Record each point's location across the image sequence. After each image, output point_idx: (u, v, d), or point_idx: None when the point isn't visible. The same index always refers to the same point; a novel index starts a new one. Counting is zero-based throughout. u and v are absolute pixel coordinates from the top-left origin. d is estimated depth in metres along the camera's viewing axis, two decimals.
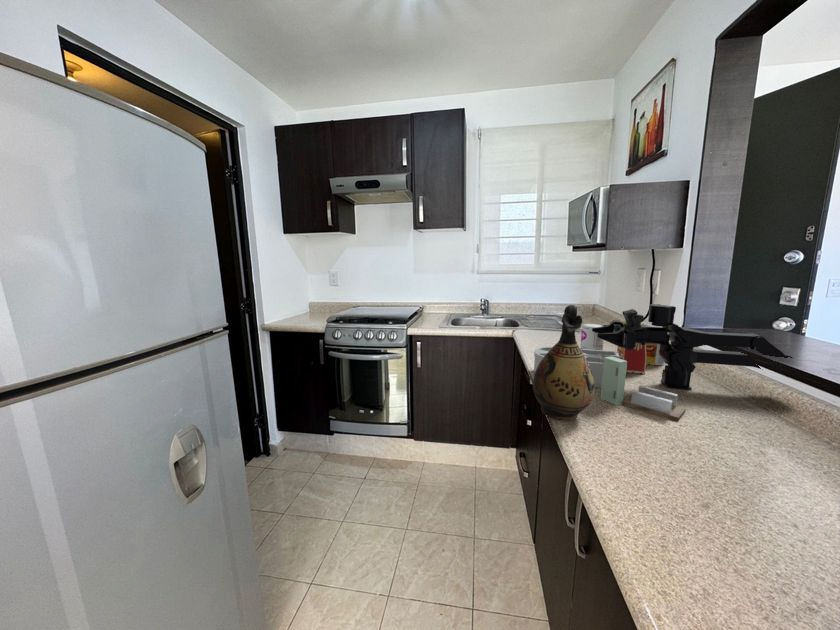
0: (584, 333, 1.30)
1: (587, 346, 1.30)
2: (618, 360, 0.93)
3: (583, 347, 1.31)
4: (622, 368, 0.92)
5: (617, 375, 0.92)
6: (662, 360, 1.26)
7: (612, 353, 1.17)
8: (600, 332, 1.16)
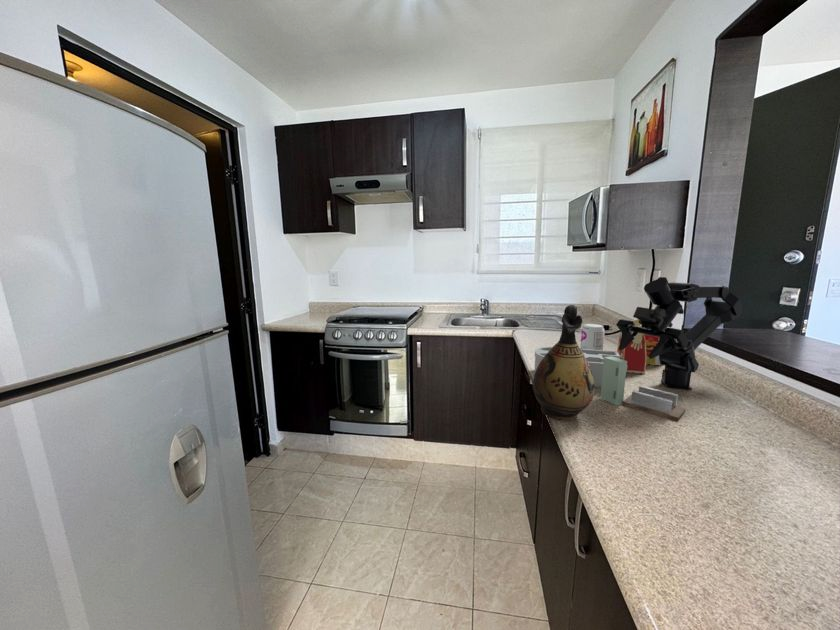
0: (584, 333, 1.30)
1: (587, 346, 1.30)
2: (618, 360, 0.93)
3: (583, 347, 1.31)
4: (622, 368, 0.92)
5: (617, 375, 0.92)
6: None
7: (612, 353, 1.17)
8: (626, 344, 1.02)
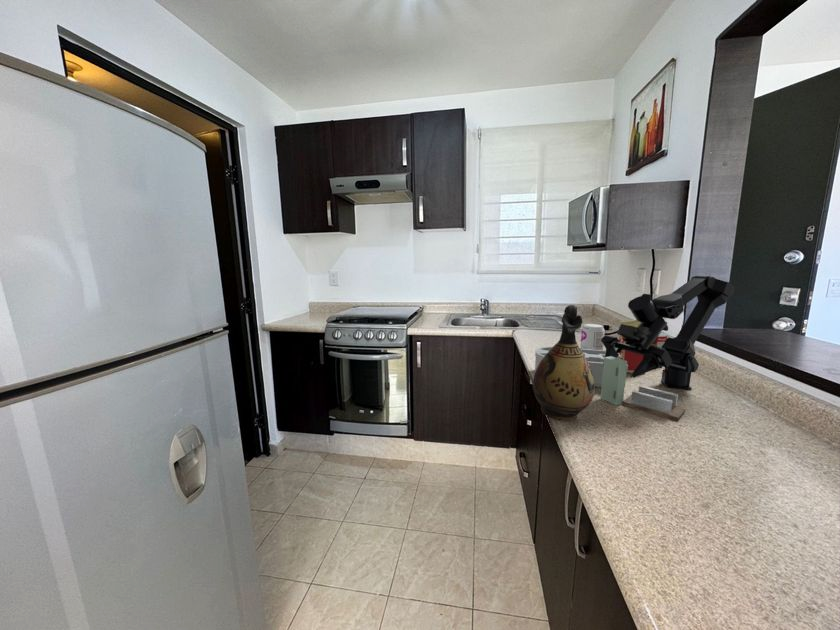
0: (584, 333, 1.30)
1: (587, 346, 1.30)
2: (618, 360, 0.93)
3: (583, 347, 1.31)
4: (622, 368, 0.92)
5: (617, 375, 0.92)
6: None
7: None
8: None
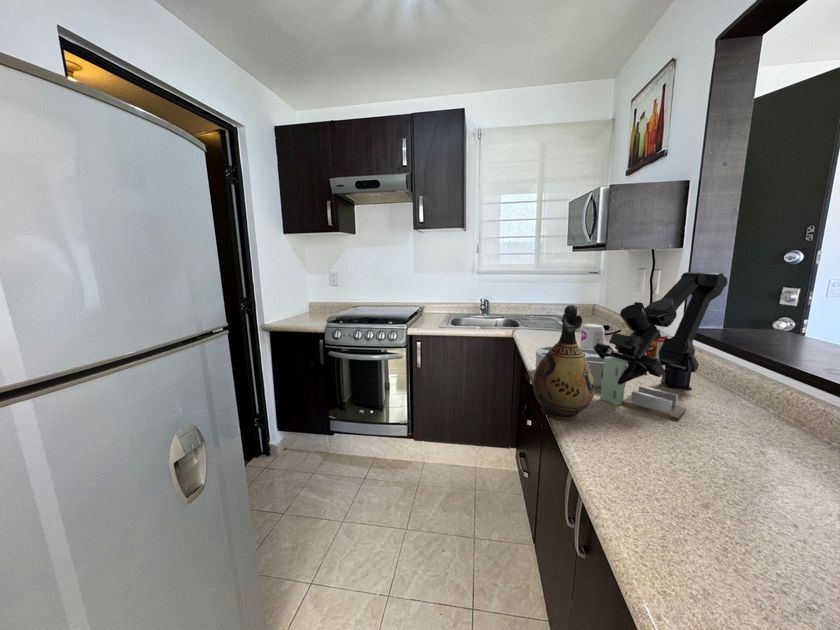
0: (584, 333, 1.30)
1: (587, 346, 1.30)
2: (618, 360, 0.93)
3: (583, 347, 1.31)
4: (622, 368, 0.92)
5: (617, 375, 0.92)
6: None
7: None
8: None
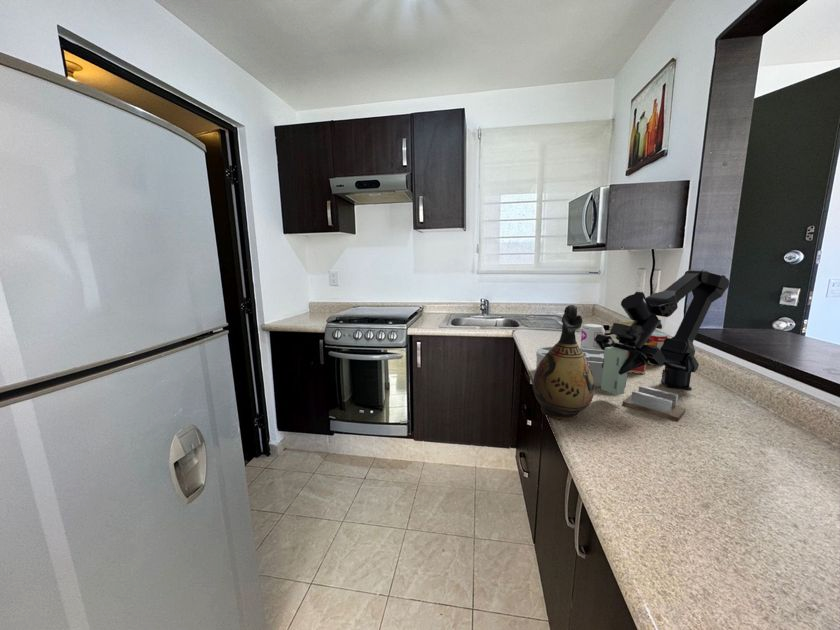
0: (584, 333, 1.30)
1: (587, 346, 1.30)
2: (619, 350, 0.92)
3: (583, 347, 1.31)
4: (623, 358, 0.92)
5: (618, 365, 0.92)
6: None
7: None
8: None
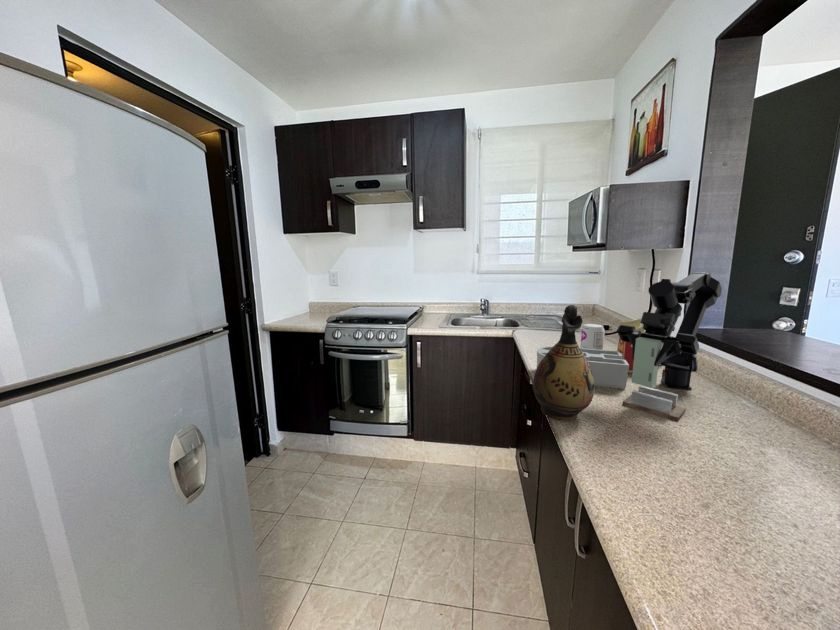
0: (584, 333, 1.30)
1: (587, 346, 1.30)
2: (652, 340, 0.88)
3: (583, 347, 1.31)
4: (657, 348, 0.87)
5: (653, 356, 0.87)
6: None
7: (615, 353, 1.18)
8: None
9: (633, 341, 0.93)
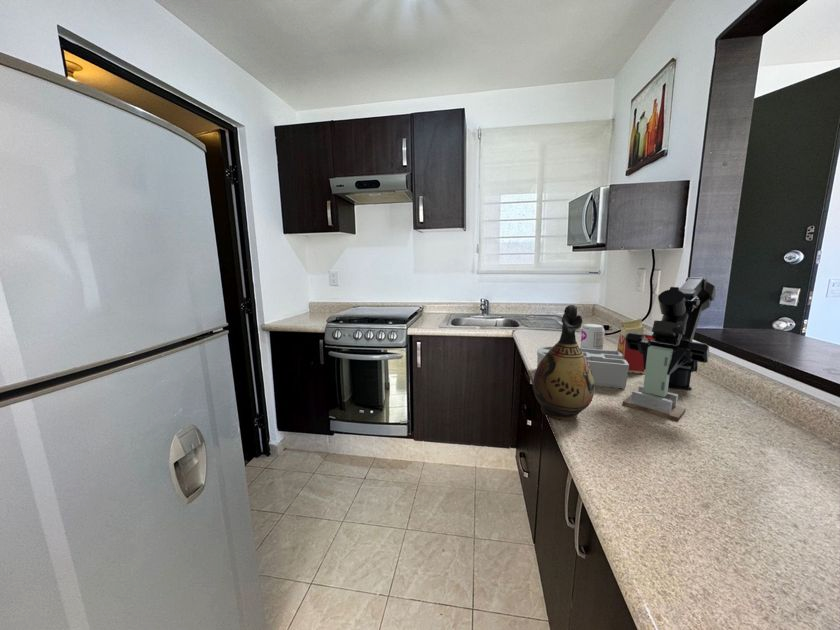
0: (584, 333, 1.30)
1: (587, 346, 1.30)
2: (665, 349, 0.87)
3: (583, 347, 1.31)
4: (670, 357, 0.87)
5: (666, 365, 0.86)
6: None
7: (615, 353, 1.18)
8: None
9: (643, 349, 0.93)
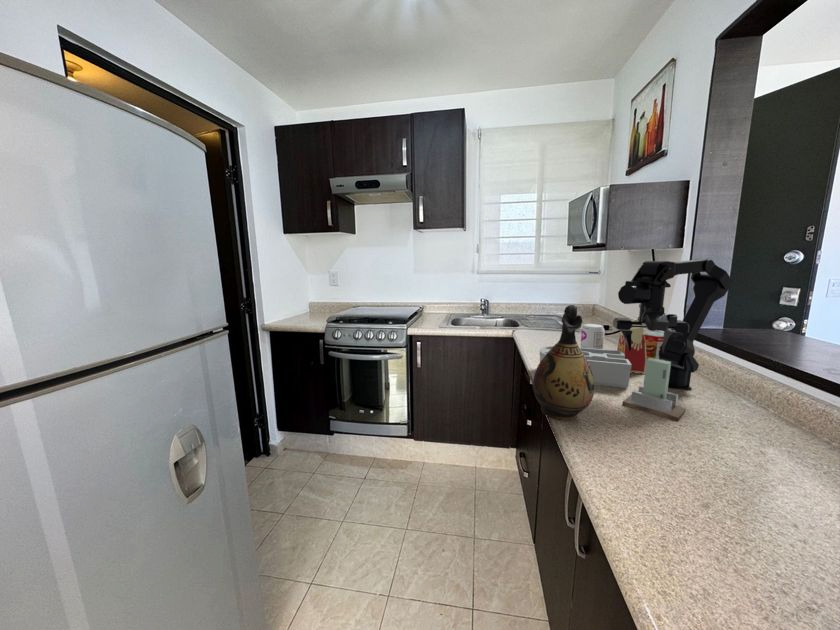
0: (584, 333, 1.30)
1: (587, 346, 1.30)
2: (663, 362, 0.88)
3: (583, 347, 1.31)
4: (668, 370, 0.87)
5: (665, 378, 0.87)
6: None
7: (618, 352, 1.18)
8: None
9: (627, 335, 1.01)
